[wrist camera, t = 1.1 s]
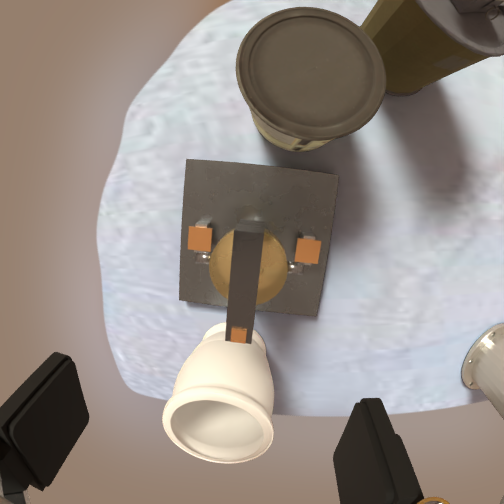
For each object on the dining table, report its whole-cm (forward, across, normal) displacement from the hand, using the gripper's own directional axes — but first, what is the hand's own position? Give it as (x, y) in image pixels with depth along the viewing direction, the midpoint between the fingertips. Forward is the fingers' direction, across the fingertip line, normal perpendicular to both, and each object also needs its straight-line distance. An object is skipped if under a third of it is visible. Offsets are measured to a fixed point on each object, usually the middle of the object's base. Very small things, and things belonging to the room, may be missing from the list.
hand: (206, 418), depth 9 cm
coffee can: (+28, -4, -15) cm, 31 cm away
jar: (+27, +1, +15) cm, 31 cm away
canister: (+27, -14, -24) cm, 39 cm away
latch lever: (+18, 0, 0) cm, 18 cm away
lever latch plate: (+27, 0, 0) cm, 27 cm away
